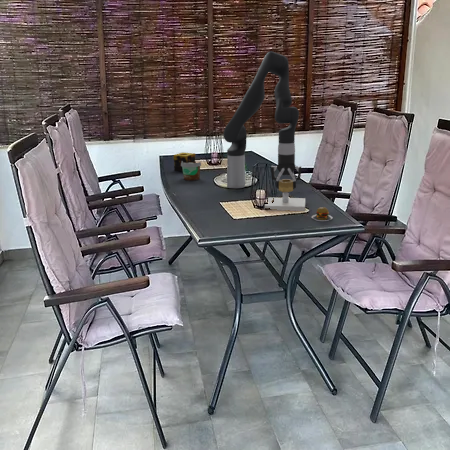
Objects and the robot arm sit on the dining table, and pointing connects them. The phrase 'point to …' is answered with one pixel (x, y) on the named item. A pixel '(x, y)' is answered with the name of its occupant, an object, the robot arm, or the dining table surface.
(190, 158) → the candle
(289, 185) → the ring
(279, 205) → the post stand
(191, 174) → the food container
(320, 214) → the hamburger
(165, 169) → the dining table surface
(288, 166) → the robot arm
